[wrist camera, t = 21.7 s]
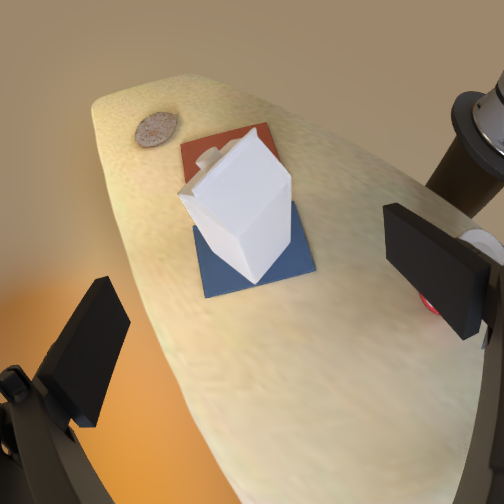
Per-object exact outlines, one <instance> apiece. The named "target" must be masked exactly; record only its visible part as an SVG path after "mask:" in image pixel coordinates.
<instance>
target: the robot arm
mask: <svg viewBox="0 0 504 504" xmlns="http://www.w3.org/2000/svg"><path fill="white" fill-rule="evenodd" d="M471 119H472V122H473V125H474V127H475V129H476V131H477V133H478V134H479V136H480V137H481V138H482V140H483V141H484V142H485V143H486V144H487V146H488V147H489V148H490V149H491V150H493V151H494V152H495V153H496V154H497V155H499V156H500V157H502V158H503V159H504V71H503V73H502V75H501V77H500V78H499V80H498V82H497V84H496V86H495V88H494V89H492V90H491V91H490V92H488V93H487V94H486V95H484V96H483V97H482V98H480V99H479V100H478V101H477V102H476V103H475V105H474V107H473V109H472V111H471ZM383 214H384V227H385V243H386V259H387V260H388V261H389V262H390V263H391V264H392V265H393V266H394V267H395V268H396V269H397V270H398V271H399V272H400V273H401V274H402V275H403V276H404V277H405V278H406V279H407V280H408V281H409V282H410V283H411V284H412V285H413V286H414V287H415V288H416V289H417V290H418V291H419V292H420V294H421V295H422V296H423V297H424V298H425V299H426V300H427V301H428V302H429V303H430V304H431V305H432V306H433V307H434V309H435V310H436V311H437V312H438V313H439V314H440V315H441V316H442V317H443V318H444V320H445V321H446V322H447V323H448V324H449V325H450V326H451V327H452V329H453V330H454V331H455V332H456V333H457V334H458V335H459V337H460V338H461V339H462V340H465V339H467V338H469V337H471V336H473V335H475V334H477V333H479V329H480V325H481V320H483V321H484V322H485V323H486V324H487V325H488V327H487V330H486V334H485V338H484V341H483V345H482V348H481V349H484V348H485V354H484V365H483V374H482V383H481V390H480V397H479V403H478V409H477V415H476V420H475V425H474V430H473V435H472V439H471V444H470V448H469V452H468V456H467V459H466V463H465V467H464V470H463V474H462V477H461V480H460V483H459V487H458V490H457V493H456V495H455V498H454V501H453V504H504V265H503V266H502V265H501V264H499V263H498V262H496V261H495V260H494V259H492V258H491V257H489V256H488V255H487V254H485V253H484V252H483V253H482V251H481V250H479V249H478V248H475V246H473V245H472V244H470V243H469V242H467V241H465V240H462V239H459V238H453V237H451V236H450V235H448V234H447V233H445V232H444V231H442V230H440V229H439V228H437V227H436V226H434V225H433V224H431V223H429V222H428V221H426V220H425V219H423V218H422V217H420V216H418V215H417V214H415V213H413V212H412V211H410V210H408V209H407V208H405V207H403V206H402V205H400V204H398V203H393V204H388V205H384V206H383ZM130 323H131V322H130V320H129V318H128V316H127V314H126V312H125V310H124V308H123V306H122V304H121V302H120V300H119V298H118V296H117V294H116V292H115V289H114V287H113V285H112V283H111V281H110V279H109V277H108V276H106V277H102V278H98V279H95V280H94V282H93V283H92V285H91V286H90V288H89V289H88V291H87V292H86V294H85V295H84V297H83V299H82V300H81V302H80V303H79V305H78V306H77V308H76V309H75V311H74V313H73V314H72V316H71V318H70V319H69V321H68V322H67V324H66V325H65V327H64V329H63V330H62V332H61V334H60V335H59V337H58V339H57V340H56V342H54V343H53V345H51V347H50V349H49V351H48V352H47V355H46V356H45V358H44V359H43V362H42V363H41V365H40V367H39V368H38V370H37V372H36V374H35V376H34V378H33V379H32V381H31V380H30V379H29V378H28V376H27V375H26V374H25V373H24V371H23V370H22V368H21V367H20V366H19V365H12V366H10V367H8V368H6V369H5V370H4V371H2V372H1V374H0V392H1V393H2V395H3V396H4V397H5V398H6V399H7V401H8V402H5V403H2V404H1V403H0V504H115V503H114V501H113V500H112V498H111V497H110V495H109V494H108V492H107V490H106V489H105V487H104V485H103V484H102V482H101V481H100V479H99V477H98V476H97V474H96V472H95V470H94V469H93V467H92V465H91V463H90V461H89V460H88V458H87V456H86V454H85V452H84V450H83V448H82V447H81V445H80V443H79V441H78V439H77V437H76V435H75V433H74V431H73V430H72V428H71V427H70V426H69V425H68V424H69V422H70V419H71V418H72V419H73V421H74V422H75V423H76V424H77V425H78V426H79V427H83V428H84V427H96V424H97V421H98V417H99V414H100V411H101V408H102V405H103V401H104V398H105V395H106V392H107V389H108V386H109V383H110V380H111V377H112V374H113V371H114V368H115V365H116V362H117V359H118V356H119V353H120V350H121V348H122V345H123V342H124V339H125V337H126V334H127V331H128V328H129V326H130ZM1 443H2V444H3V445H4V446H5V447H6V448H7V449H8V455H7V454H6V453H5V452H4V451H3V449H2V445H1Z"/></svg>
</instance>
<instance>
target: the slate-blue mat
mask: <svg viewBox="0 0 504 504" xmlns="http://www.w3.org/2000/svg"><path fill="white" fill-rule="evenodd" d="M193 232H194V238H195V244H196V250H197V256H198V261H199V267H200V272H201V278H202V283H203V288H204V294H205V298H209V297H213V296H217V295H222V294H226V293H230V292H234V291H238V290H242V289H246V288H250V287H254V286H258V285H262V284H266V283H270V282H274V281H278V280H282V279H286V278H290V277H294V276H298V275H301V274H305V273H309V272H313V271H316V269H315V266H314V262H313V259H312V256H311V253H310V249H309V246H308V243H307V240H306V237H305V234H304V230H303V227H302V224H301V221H300V218H299V215H298V212H297V209H296V206H295V203H294V201H291V238H290V243H289V245H288V246H287V247H286V249H285V250H284V251H283V252H282V253H281V255H280V256H279V257H278V258H277V259H276V261H275V262H274V263H273V264H272V266H271V267H270V268H269V269H268V270H267V272H266V273H265V274H264V275H263V276H262V278H261V279H260V280H259V281H258V282H257V283H256V284H253V283H252V282H251V281H249V280H248V279H247V278H245V277H244V276H243V275H242V274H240V273H239V272H238V271H237V270H235V269H234V268H233V267H231V266H230V265H229V264H228V263H226V262H225V261H224V260H223V259H221V258H220V257H219V256H218V255H216V254H215V253H214V252H213V251H212V250H211V248H210V247H209V245H208V243H207V242H206V240H205V239H204V237H203V235H202V234H201V232H200V231H199V229H198V227H197V226H196V225H195V226H193Z"/></svg>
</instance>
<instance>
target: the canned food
mask: <svg viewBox="0 0 504 504" xmlns="http://www.w3.org/2000/svg"><path fill="white" fill-rule="evenodd" d="M457 238H459V239H462V240H465V241H467V242H469V243H470V244H472V245H473V246H475V248H478V249H479V250H481V251H482V253H483V252H484V253H485V254H487V255H488V256H489V257H491V258H492V259H494V260H495V261H496V262H498V263H499V264H501V265H502V266H503V265H504V248H503V246H502V245H501V243H500V242H499V241H498V240H497V239H496V238H495V236H493V235H492V234H491V233H489V232H487V231H485V230H483V229H479V228H473V229H469V230H467V231H465V232H463V233H462V234H461V235H459V236H458V237H457ZM419 294H420V292H419ZM420 297H421V299H422V301H423V303H424V304H425V306H426V307H427V308H428V309H429V310H431V311H432V312H434V313H436V314H438V315H440V314H439V313H438V312H437V311H436V310H435V309H434V307H433V306H432V305H431V304H430V303H429V302H428V301H427V300H426V299H425V298H424V297H423V296H422V295H421V294H420Z"/></svg>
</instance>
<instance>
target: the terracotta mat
mask: <svg viewBox="0 0 504 504" xmlns="http://www.w3.org/2000/svg"><path fill="white" fill-rule="evenodd" d="M254 127H255V128H256V130H257V136H258V138H259V139H260V140H261V141H262V142H263V143H264V144H265V146H266V147H267V148H268V149H269V150H270V151H271V152H272V154H273V155H274V156H275V157H276V158H277V160H278V161H279V162H280V159H279V156H278V153H277V150H276V148H275V145H274V142H273V139H272V137H271V134H270V131H269V128H268V126H267V123H266V122H265V123H260V124H256V125H252V126H247V127H243V128H239V129H235V130H231V131H227V132H223V133H219V134H215V135H211V136H208V137H204V138H200V139H197V140H193V141H190V142H186V143H183V144H181V152H182V159H183V166H184V174H185V181H186V184H187V183H188V182H189V181H190V180H191V179H192V178H193V177H194V176H195V174H196V173H197V172H198V171H199V170H200V169H201V168H200V167H198V165H197V164H196V161H197V159H198V158H199V157H200V156H201V155H202V154H203V153H204V152H205V151H207V150H208V149H210V148H212V147H217V148H218V150H219V151H220V150H221V149H222V148H223V147H224V146H225V145H226V144H227V143H228V142H229V141H231V140H234V139H239V138H243V137H244V136H245V135H246V134H247V133H248V132H249V131H250V130H251V129H252V128H254ZM280 163H281V162H280Z"/></svg>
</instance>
